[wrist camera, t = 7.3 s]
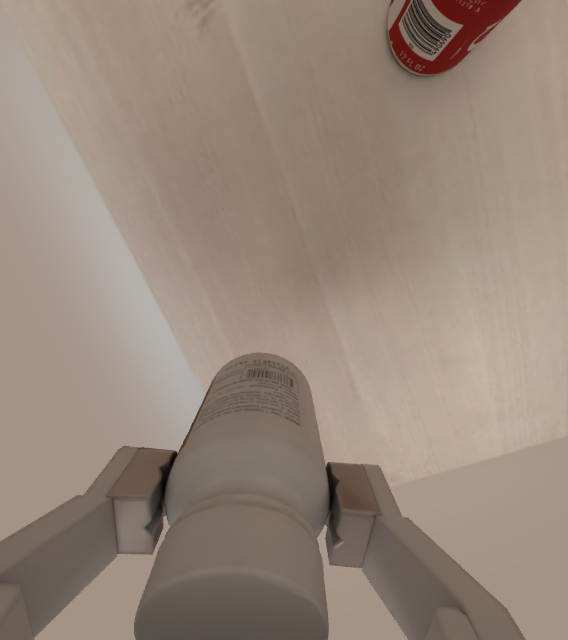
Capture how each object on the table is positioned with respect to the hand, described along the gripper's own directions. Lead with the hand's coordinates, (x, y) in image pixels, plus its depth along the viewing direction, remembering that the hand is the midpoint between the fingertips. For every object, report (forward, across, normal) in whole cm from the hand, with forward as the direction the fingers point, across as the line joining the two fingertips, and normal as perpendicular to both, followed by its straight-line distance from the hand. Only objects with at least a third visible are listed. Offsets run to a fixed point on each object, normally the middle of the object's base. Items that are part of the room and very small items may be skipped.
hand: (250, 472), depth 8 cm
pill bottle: (+4, 0, 0) cm, 4 cm away
